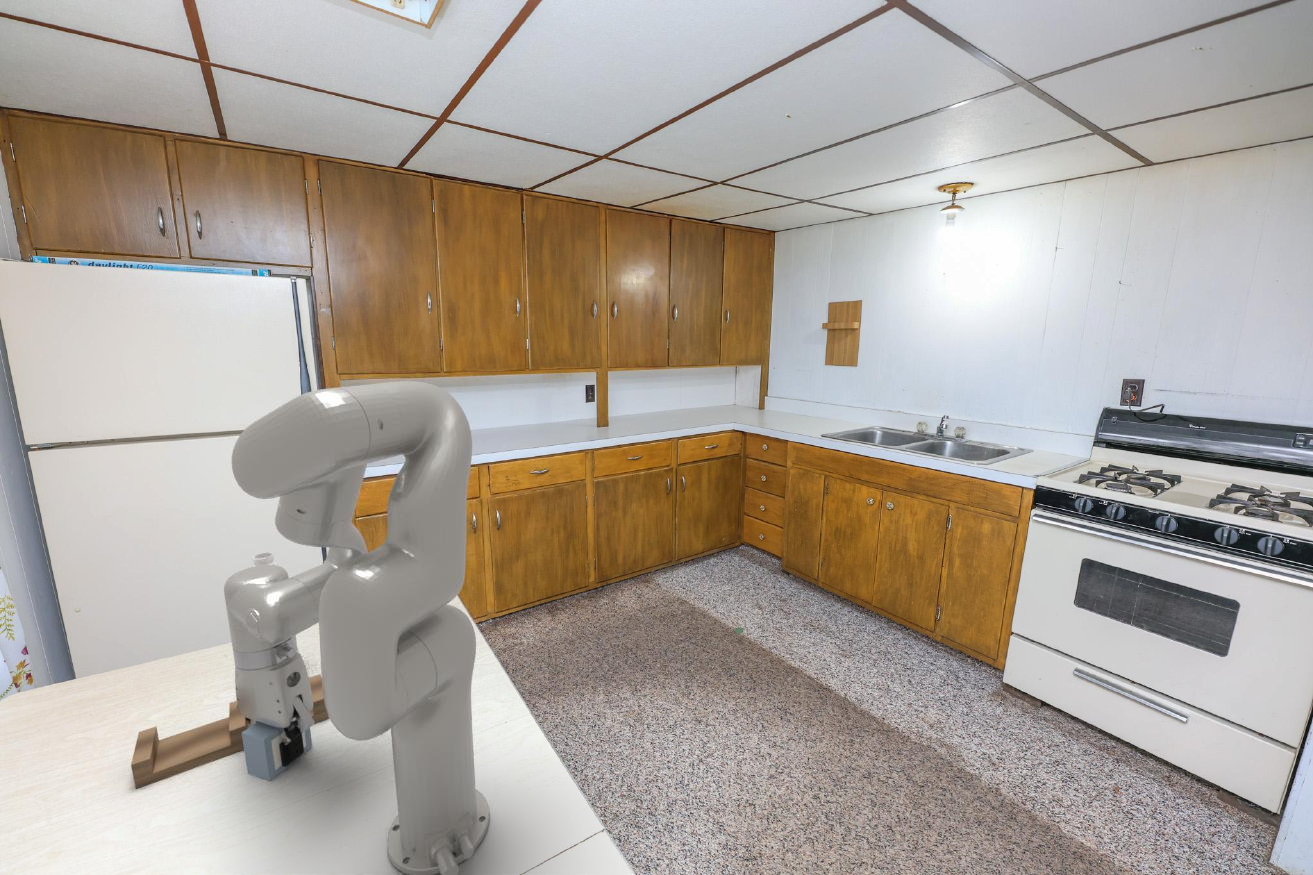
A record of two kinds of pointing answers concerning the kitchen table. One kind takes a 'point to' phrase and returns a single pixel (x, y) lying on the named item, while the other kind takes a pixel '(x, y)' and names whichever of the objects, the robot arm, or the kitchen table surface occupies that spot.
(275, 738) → the blue-grey rectangular block
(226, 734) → the wooden divided rack
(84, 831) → the kitchen table surface
